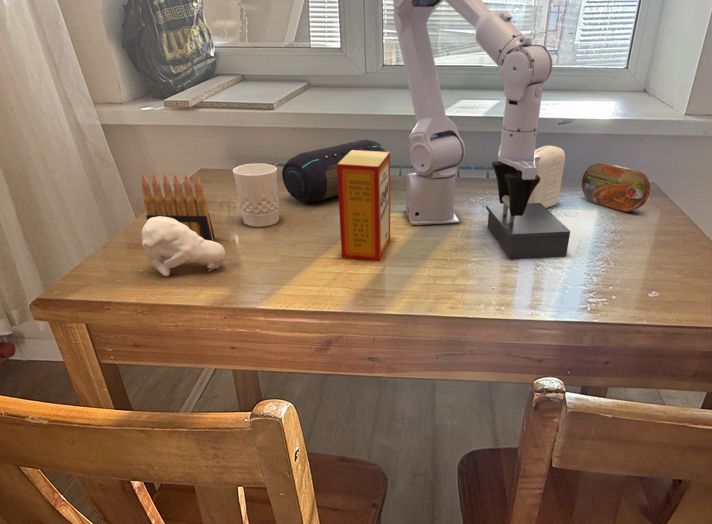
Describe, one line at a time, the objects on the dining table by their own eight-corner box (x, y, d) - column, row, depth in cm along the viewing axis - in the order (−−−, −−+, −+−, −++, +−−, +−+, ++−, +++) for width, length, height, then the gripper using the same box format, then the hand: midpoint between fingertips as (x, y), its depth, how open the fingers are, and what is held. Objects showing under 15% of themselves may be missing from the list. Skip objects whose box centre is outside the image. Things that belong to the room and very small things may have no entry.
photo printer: (544, 199, 127) (552, 140, 120) (560, 204, 124) (570, 144, 118) (515, 209, 121) (522, 148, 114) (531, 215, 118) (540, 153, 112)
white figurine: (147, 209, 91) (226, 216, 92) (154, 259, 95) (229, 265, 97) (134, 224, 86) (218, 230, 87) (142, 276, 90) (222, 281, 92)
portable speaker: (309, 211, 117) (305, 161, 112) (279, 200, 123) (274, 152, 118) (395, 185, 133) (395, 140, 128) (366, 176, 139) (364, 133, 133)
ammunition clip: (215, 240, 104) (203, 172, 97) (212, 244, 102) (200, 175, 96) (155, 239, 104) (138, 171, 97) (151, 243, 102) (134, 175, 96)
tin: (578, 198, 128) (584, 159, 123) (586, 195, 130) (593, 157, 125) (638, 217, 118) (648, 175, 114) (646, 213, 120) (656, 172, 116)
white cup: (232, 224, 110) (223, 171, 105) (256, 211, 117) (249, 161, 111) (267, 230, 108) (260, 177, 103) (290, 217, 114) (284, 166, 109)
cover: (509, 238, 97) (511, 214, 95) (485, 208, 110) (487, 186, 107) (569, 235, 99) (573, 211, 96) (539, 206, 111) (542, 184, 109)
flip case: (510, 259, 99) (512, 238, 97) (487, 227, 112) (488, 208, 110) (566, 256, 101) (569, 235, 99) (537, 225, 113) (539, 206, 111)
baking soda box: (355, 237, 106) (351, 147, 98) (390, 239, 106) (389, 149, 97) (341, 257, 98) (336, 162, 90) (379, 260, 98) (377, 164, 89)
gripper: (559, 138, 90) (546, 222, 97) (528, 119, 102) (520, 195, 109) (515, 139, 89) (506, 224, 96) (490, 119, 101) (483, 196, 108)
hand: (511, 208), depth 102 cm, fingers open, 6 cm apart
